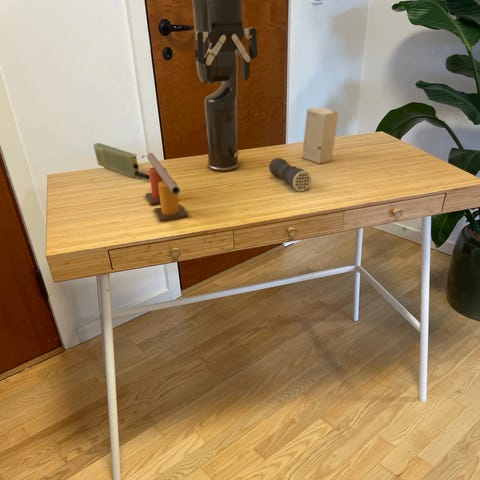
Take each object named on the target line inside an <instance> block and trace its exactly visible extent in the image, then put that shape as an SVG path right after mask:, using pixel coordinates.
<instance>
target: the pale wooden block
mask: <svg viewBox="0 0 480 480" xmlns="http://www.w3.org/2000/svg"><path fill="white" fill-rule="evenodd" d="M338 117H339V112H338V111H335V110H332V109H329V108H326V107H322V106H317V107H311V108H307V109H306V117H305V127H304V136H303V137H304V138H303V144H302V145H303V146H302V154H301V157H302V159H305V160H308V161H311V162H314V163H316V164H319V165H320V164H324V163H327V162H331V161H332V160H333V153H334V145H335V140H336V139H335V138H336V131H337V124H338Z"/></svg>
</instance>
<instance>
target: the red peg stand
mask: <svg viewBox="0 0 480 480" xmlns="http://www.w3.org/2000/svg"><path fill="white" fill-rule="evenodd" d="M163 168H164V169H165V170H166V171H167V169H166V167H164V166H163ZM148 175H149V176H150V178H149V182H150V188H151V189H150V190H151V192H147V193H145V197H146V199H147V201H148V203H149V205H150V206H156V205H157V206H158V205H161V203H160V195H159V188H158V183H159V182H161V181H163V179H162V178H161V177H160V175H159V174H158V172H157V171H156V170H155V168H154V167H153V166H152V167H150V168H149V169H148Z"/></svg>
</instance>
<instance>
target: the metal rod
mask: <svg viewBox="0 0 480 480" xmlns="http://www.w3.org/2000/svg"><path fill="white" fill-rule="evenodd" d="M146 158H147V160H148V161H149V163H150V164H151V165H152V168H153V167H154V168H155V170H156V171H157V172H158V174H159V175H160V177H161V178H162V179H163V181H164V182H165V184H166V185H167V186H168V188H169V189H170V191H171V192H172V193H173V194H174V195H177V194H178V195H179V194H180V193H181V188H180V187H179V186H178V184H177V182H176V181H175V180H174V179H173V178H172V177H171V175H170V174H169V173H168V171H167V169H166V170H165V169H164V168H165V167H164V166H163V165H162V163H161V162H160V161H159V160H158V159H157V157H156V156H155V154H154V153H152V152H149V153H147V155H146ZM163 167H164V168H163ZM174 181H175V182H176V183H175V182H174Z"/></svg>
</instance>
